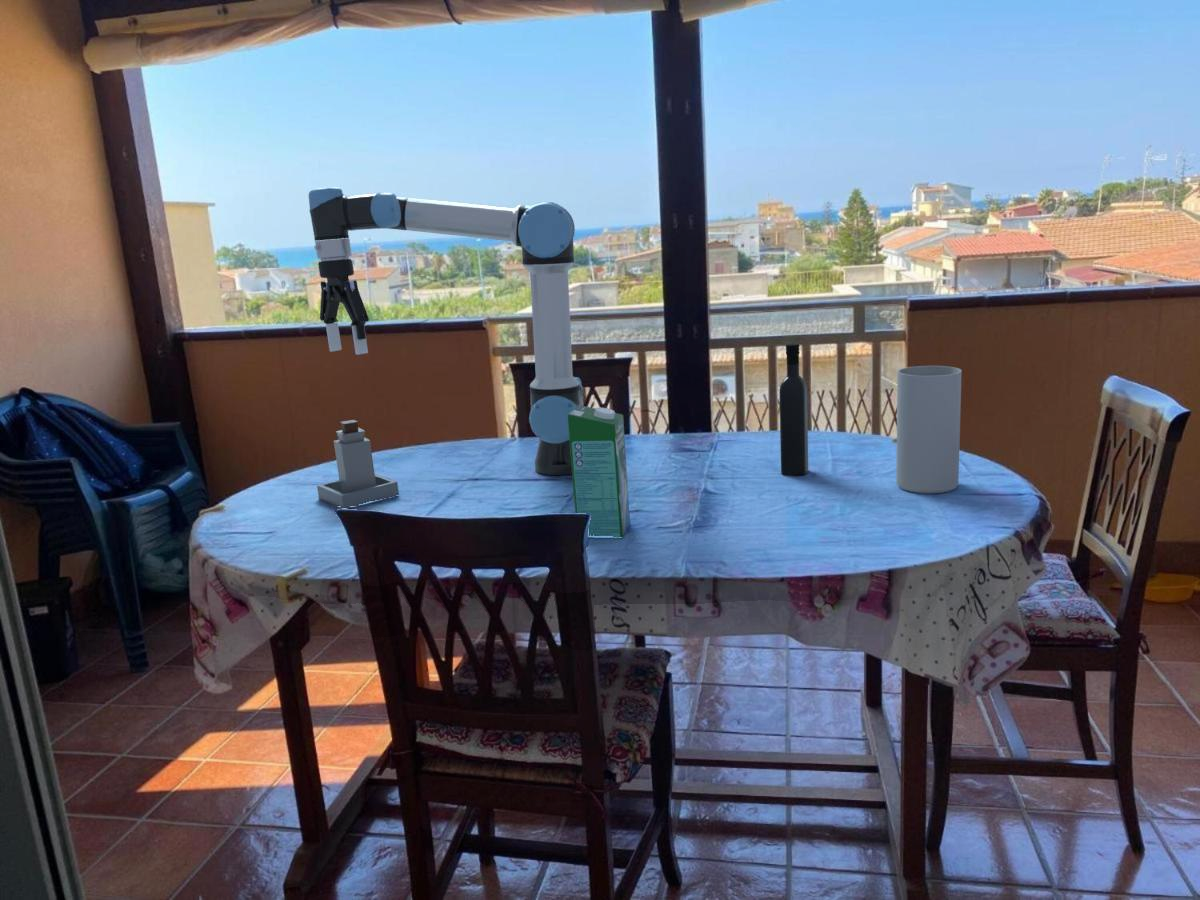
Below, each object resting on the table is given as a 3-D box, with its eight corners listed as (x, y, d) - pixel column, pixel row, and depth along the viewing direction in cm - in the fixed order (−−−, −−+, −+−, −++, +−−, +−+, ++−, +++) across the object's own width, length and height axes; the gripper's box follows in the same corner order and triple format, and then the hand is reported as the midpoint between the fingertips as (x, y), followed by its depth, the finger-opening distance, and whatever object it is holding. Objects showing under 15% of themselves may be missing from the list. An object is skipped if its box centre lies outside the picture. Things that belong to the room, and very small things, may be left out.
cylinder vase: (967, 482, 194) (971, 367, 187) (943, 498, 185) (946, 377, 179) (911, 475, 202) (913, 364, 196) (886, 489, 193) (887, 374, 187)
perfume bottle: (349, 501, 211) (338, 426, 206) (341, 495, 216) (330, 422, 212) (377, 495, 214) (367, 421, 209) (369, 489, 220) (359, 417, 215)
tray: (399, 495, 214) (397, 481, 214) (343, 510, 206) (341, 495, 205) (372, 485, 225) (370, 472, 224) (319, 499, 216) (316, 485, 216)
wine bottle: (780, 475, 209) (777, 346, 202) (784, 468, 214) (782, 342, 207) (805, 476, 207) (803, 346, 199) (809, 469, 212) (807, 342, 204)
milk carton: (622, 538, 175) (613, 412, 169) (577, 538, 176) (567, 413, 170) (630, 523, 183) (622, 402, 177) (586, 523, 185) (577, 404, 179)
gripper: (296, 261, 211) (310, 351, 216) (343, 259, 193) (358, 357, 198) (326, 259, 216) (340, 347, 221) (375, 256, 197) (388, 352, 202)
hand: (348, 352), depth 209 cm, fingers open, 13 cm apart
